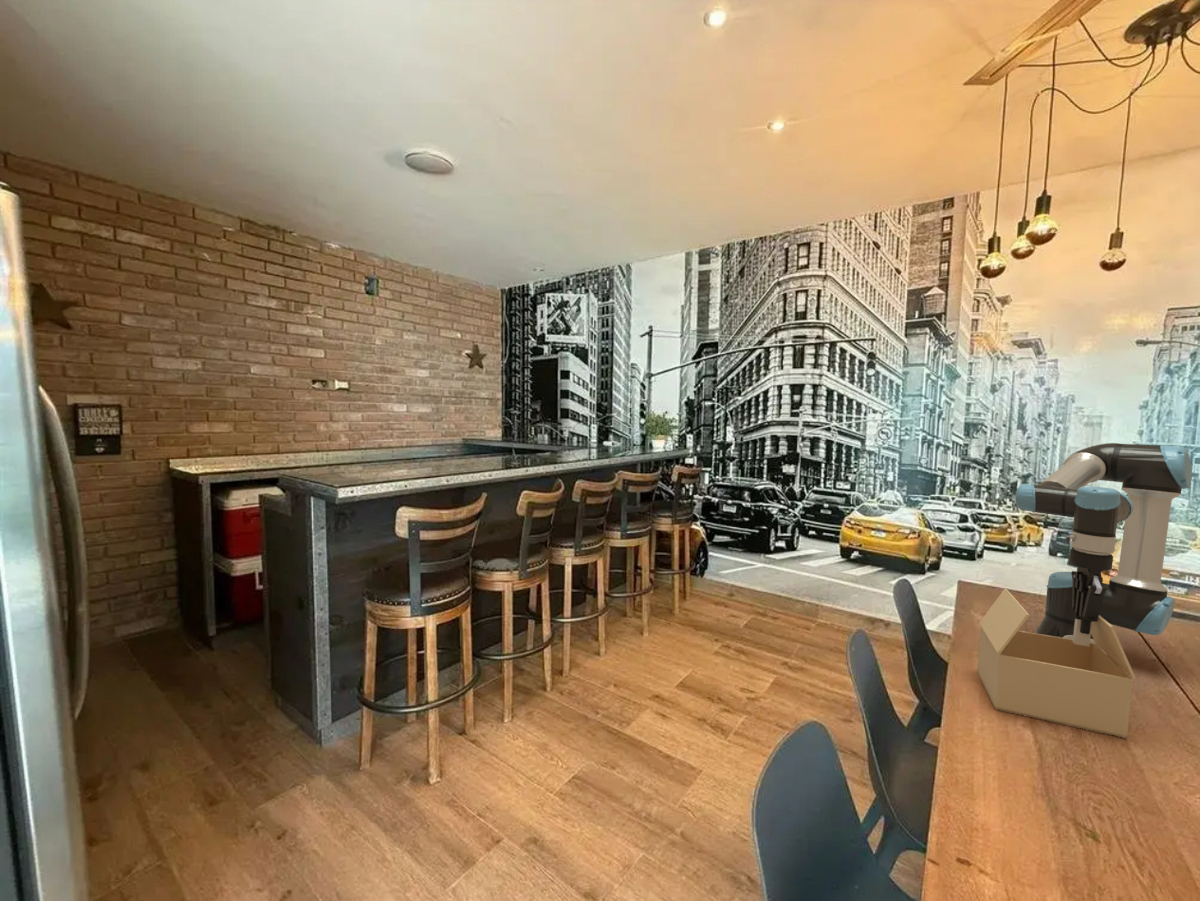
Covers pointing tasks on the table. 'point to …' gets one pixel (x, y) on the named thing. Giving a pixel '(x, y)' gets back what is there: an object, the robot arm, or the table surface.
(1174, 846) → the table surface
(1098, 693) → the carton
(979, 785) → the table surface
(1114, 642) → the near flap
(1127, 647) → the table surface
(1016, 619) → the far flap
